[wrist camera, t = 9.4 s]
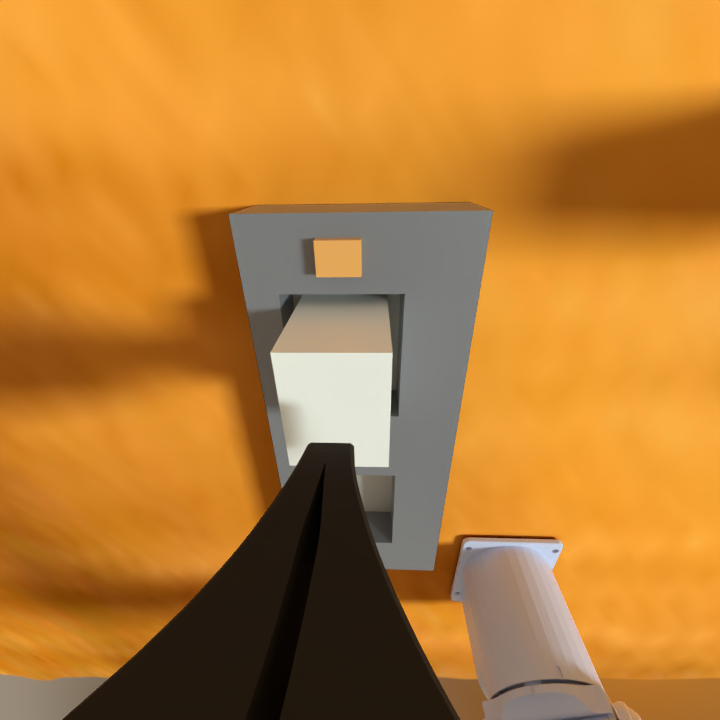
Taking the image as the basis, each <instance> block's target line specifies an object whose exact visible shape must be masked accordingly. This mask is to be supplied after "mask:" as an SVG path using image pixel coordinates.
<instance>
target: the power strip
mask: <svg viewBox="0 0 720 720" xmlns="http://www.w3.org/2000/svg"><path fill="white" fill-rule="evenodd" d="M492 214H493V210H490V209H488V208H485V207H482V206H479V205H477V204H474V203H471V202H439V203H368V204H297V205H255V206H252V207H249V208H246V209H242V210H239V211H236V212H233V213H230V214H228V215H229V220H230V225H231V230H232V235H233V240H234V246H235V251H236V256H237V261H238V266H239V271H240V277H241V282H242V287H243V292H244V297H245V302H246V307H247V313H248V318H249V323H250V328H251V333H252V338H253V343H254V349H255V354H256V359H257V364H258V369H259V374H260V380H261V385H262V390H263V395H264V400H265V405H266V410H267V416H268V421H269V426H270V431H271V436H272V441H273V446H274V452H275V457H276V462H277V467H278V472H279V477H280V483H281V488H283V486H284V485H285V483H286V482H287V480H288V478H289V477H290V475H291V474H292V472H293V470H294V469H295V467H296V466H290V465H289V459H288V453H287V447H286V441H285V436H284V430H283V424H282V418H281V412H280V406H279V401H278V395H277V389H276V383H275V377H274V371H273V366H272V360H271V354H270V352H271V351H272V349H273V347H274V345H275V343H276V342H277V340H278V338H279V336H280V335H281V333H282V331H283V329H284V327H285V326H286V324H287V322H288V320H289V319H290V317H291V315H292V313H293V311H294V310H295V308H296V306H297V304H298V303H299V301H300V299H301V297H302V295H303V294H387V300H388V310H389V321H390V331H391V342H392V352H393V356H392V385H391V414H390V444H389V467H355V471H356V477H357V482H358V486H359V491H360V494H361V498H362V502H363V506H364V510H365V513H366V516H367V519H368V523H369V526H370V529H371V532H372V535H373V538H374V540H375V543H376V546H377V549H378V551H379V554H380V557H381V559H382V562H383V564H384V567H385V569H397V570H430V571H433V570H434V564H435V558H436V552H437V546H438V540H439V534H440V528H441V522H442V516H443V510H444V504H445V498H446V492H447V486H448V480H449V474H450V468H451V462H452V456H453V450H454V444H455V438H456V432H457V426H458V420H459V413H460V407H461V401H462V395H463V389H464V383H465V377H466V371H467V365H468V359H469V353H470V347H471V341H472V335H473V329H474V323H475V317H476V311H477V305H478V299H479V293H480V287H481V281H482V275H483V269H484V263H485V257H486V250H487V244H488V238H489V232H490V226H491V220H492Z"/></svg>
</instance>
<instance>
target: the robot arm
mask: <svg viewBox="0 0 720 720" xmlns="http://www.w3.org/2000/svg"><path fill="white" fill-rule="evenodd" d="M562 549H563V544H562V542H561V541H560V540H554V539H516V538H478V537H467V538H465V539H463V541H462V545H461V549H460V554H459V558H458V563H457V567H456V572H455V576H454V581H453V585H452V590H451V594H450V595H451V599H452V600H453V601H462V604H463V609H464V614H465V619H466V624H467V629H468V634H469V639H470V644H471V649H472V654H473V659H474V664H475V669H476V674H477V677H478V681H479V684H480V686H481V688H482V691H483V692H484V694H485V696H486V697H487V699H488V700H487V701H483V702H482V705H483V710H484V715H485V719H481V720H641V718H640V716H639V714H637V713H636V712H635V711H633V710H632V709H631V708H628V707H627V706H626V704H625V703H624V702H622V701H618V702H614V706H615V707H614V706H613V704H612V702H611V700H610V699H609V697H608V695H607V694H606V692H605V690H604V688H603V687H602V684H601V682H600V680H599V677H598V675H597V673H596V671H595V668H594V666H593V664H592V661H591V659H590V657H589V655H588V652H587V650H586V648H585V646H584V643H583V641H582V639H581V636H580V634H579V632H578V630H577V627H576V625H575V623H574V620H573V618H572V616H571V614H570V611H569V609H568V607H567V604H566V602H565V600H564V598H563V595H562V593H561V591H560V588H559V586H558V584H557V582H556V579H555V577H554V575H553V573H552V569H553V567H554V565H555V563H556V561H557V559H558V557H559V555H560V553H561V551H562ZM616 711H617V712H616ZM63 720H460V718H459V717H458V715H457V713H456V711H455V709H454V708H453V706H452V704H451V702H450V700H449V699H448V697H447V695H446V693H445V692H444V689H443V688H442V686H441V684H440V682H439V680H438V678H437V677H436V675H435V673H434V671H433V669H432V667H431V665H430V663H429V661H428V659H427V657H426V655H425V653H424V651H423V649H422V648H421V646H420V644H419V642H418V640H417V637H416V635H415V633H414V631H413V629H412V627H411V625H410V623H409V621H408V619H407V616H406V614H405V612H404V610H403V608H402V606H401V604H400V602H399V600H398V597H397V595H396V593H395V590H394V588H393V586H392V583H391V581H390V579H389V576H388V574H387V572H386V569H385V567H384V564H383V562H382V559H381V557H380V554H379V551H378V549H377V546H376V543H375V540H374V538H373V535H372V532H371V529H370V526H369V523H368V519H367V516H366V513H365V510H364V506H363V502H362V498H361V494H360V491H359V486H358V482H357V477H356V471H355V456H354V446H353V445H352V444H351V443H313V442H311V443H309V444H308V445H307V447H306V449H305V451H304V453H303V455H302V456H301V458H300V460H299V462H298V464H297V465H296V467H295V469H294V470H293V472H292V474H291V475H290V477H289V478H288V480H287V482H286V483H285V485H284V486H283V488H282V489H281V491H280V492H279V494H278V495H277V497H276V498H275V500H274V501H273V503H272V504H271V506H270V507H269V508H268V510H267V511H266V512H265V514H264V515H263V516H262V518H261V519H260V520H259V522H258V523H257V525H256V526H255V527H254V529H253V530H252V531H251V533H250V534H249V535H248V536H247V538H246V539H245V540H244V541H243V543H242V544H241V545H240V546H239V548H238V549H237V550H236V551H235V552H234V553H233V555H232V556H231V557H230V558H229V559H228V561H227V562H226V563H225V564H224V565H223V566H222V568H221V569H220V570H219V571H218V572H217V573H216V574H215V575H214V576H213V577H212V579H211V580H210V581H209V582H208V583H207V584H206V585H205V586H204V587H203V588H202V589H201V591H200V592H199V593H198V594H197V595H196V596H195V597H194V598H193V599H192V600H191V601H190V602H189V603H188V604H187V605H186V606H185V607H184V608H183V609H182V610H181V611H180V612H179V613H178V614H177V615H176V616H175V617H174V618H173V619H172V620H171V621H170V622H169V623H168V624H167V625H166V626H165V627H164V628H163V629H162V630H161V631H160V632H159V633H158V634H157V635H156V636H155V637H154V638H152V639H151V640H150V641H149V642H148V643H147V644H146V645H145V646H144V647H143V648H142V649H141V650H140V651H139V652H138V653H137V654H136V655H135V656H134V657H132V658H131V659H130V660H129V661H128V662H127V663H126V664H125V665H124V666H122V667H121V668H120V669H119V670H118V671H117V672H116V673H115V674H113V675H112V676H111V677H110V678H109V679H108V680H107V681H106V682H104V683H103V684H102V685H101V686H100V687H99V688H97V689H96V690H95V691H94V692H93V693H92V694H91V695H90V696H88V697H87V698H86V699H85V700H84V701H83V702H82V703H81V704H79V705H78V706H77V707H76V708H75V709H74V710H72V711H71V712H70V713H69V714H68V715H67V716H66V717H65V718H64V719H63Z"/></svg>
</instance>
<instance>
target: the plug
mask: <svg viewBox="0 0 720 720" xmlns="http://www.w3.org/2000/svg"><path fill="white" fill-rule="evenodd" d="M270 354H271V360H272V366H273V371H274V377H275V383H276V389H277V395H278V401H279V406H280V412H281V418H282V424H283V430H284V436H285V441H286V447H287V453H288V459H289V465H290V466H296V465H297V464H298V462H299V460H300V458H301V456H302V455H303V453H304V451H305V449H306V447H307V445H308V444H309V443H311V442H313V443H351V444H352V445H353V446H354V456H355V467H389V444H390V414H391V385H392V356H393V352H392V342H391V331H390V321H389V310H388V300H387V294H303V295H302V297H301V299H300V301H299V303H298V304H297V306H296V308H295V310H294V311H293V313H292V315H291V317H290V319H289V320H288V322H287V324H286V326H285V327H284V329H283V331H282V333H281V335H280V336H279V338H278V340H277V342H276V343H275V345H274V347H273V349H272V351H271V352H270Z"/></svg>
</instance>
